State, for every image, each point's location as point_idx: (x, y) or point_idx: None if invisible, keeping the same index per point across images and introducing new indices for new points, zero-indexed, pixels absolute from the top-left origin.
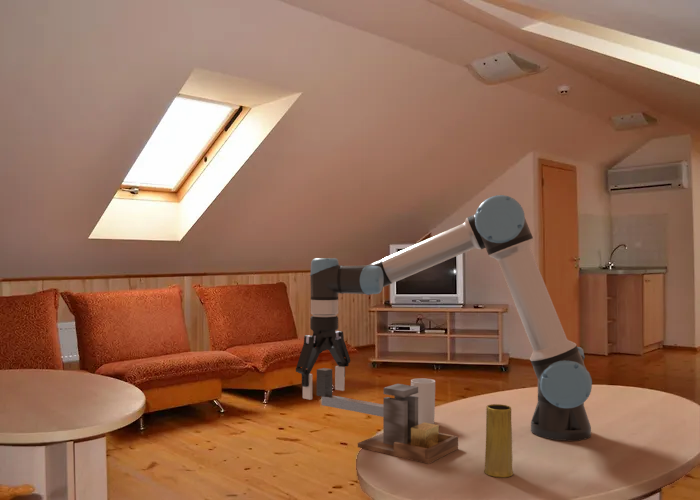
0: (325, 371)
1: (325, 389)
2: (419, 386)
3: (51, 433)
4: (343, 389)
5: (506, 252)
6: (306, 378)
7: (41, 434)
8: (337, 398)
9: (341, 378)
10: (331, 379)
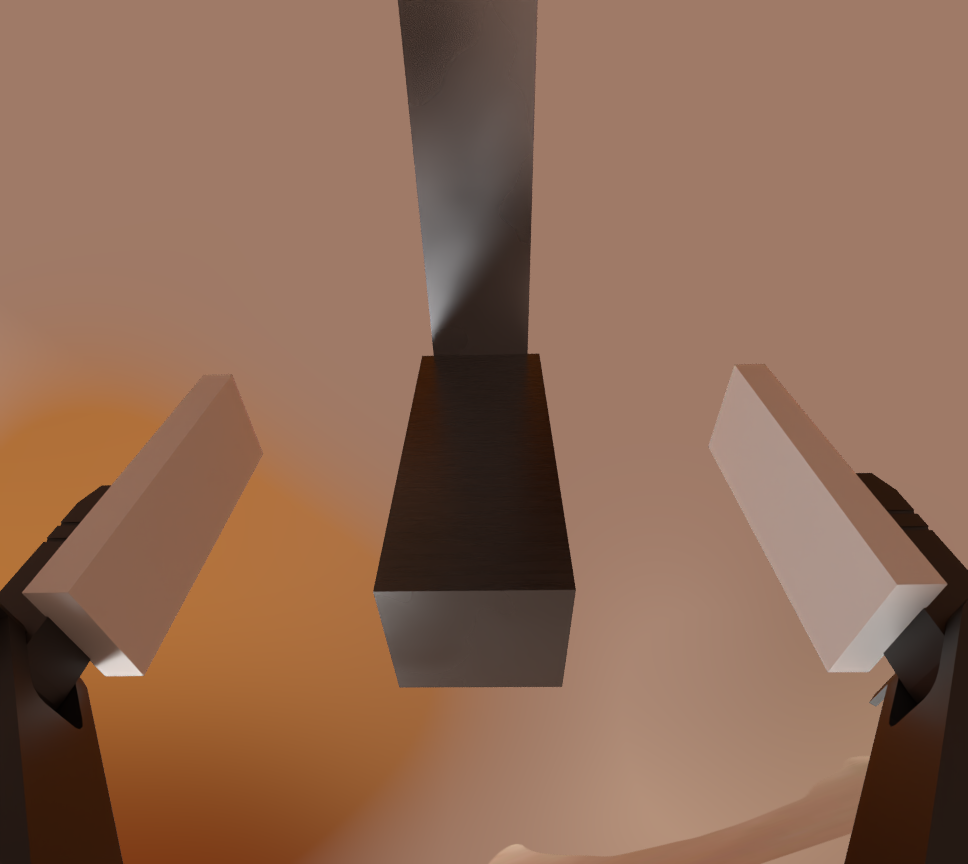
0: (568, 577)
1: (540, 398)
2: None
3: None
4: (215, 380)
5: None
6: (939, 559)
7: None
8: (511, 205)
9: (176, 477)
10: (418, 467)
